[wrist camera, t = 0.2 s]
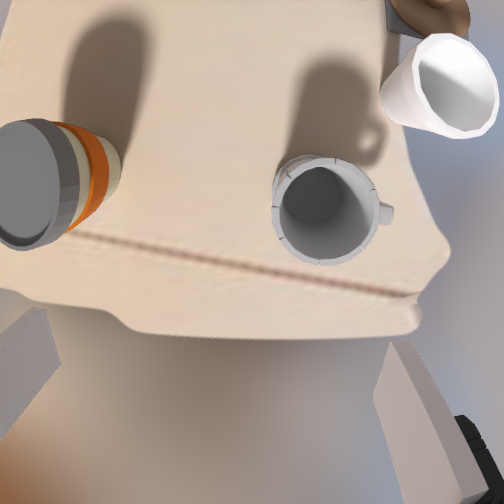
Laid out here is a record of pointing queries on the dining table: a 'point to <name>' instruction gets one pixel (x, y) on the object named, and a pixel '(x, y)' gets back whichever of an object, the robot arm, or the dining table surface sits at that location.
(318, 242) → the cup
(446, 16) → the lid
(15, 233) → the reusable coffee cup
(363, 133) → the dining table surface
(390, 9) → the mat
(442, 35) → the foam cup
